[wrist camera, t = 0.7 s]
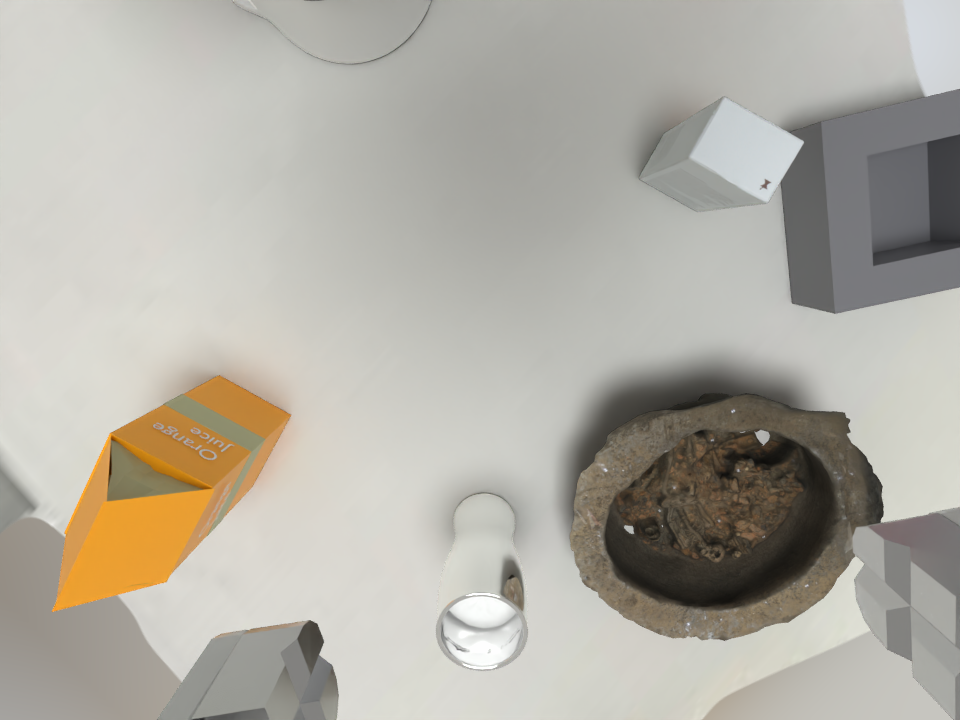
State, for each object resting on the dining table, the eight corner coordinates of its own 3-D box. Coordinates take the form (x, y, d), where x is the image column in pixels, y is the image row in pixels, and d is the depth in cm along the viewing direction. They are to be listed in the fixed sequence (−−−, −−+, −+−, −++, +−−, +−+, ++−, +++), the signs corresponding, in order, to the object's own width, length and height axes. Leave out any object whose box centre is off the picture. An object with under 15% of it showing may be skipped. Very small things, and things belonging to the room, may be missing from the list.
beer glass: (494, 475, 51) (495, 573, 37) (533, 529, 52) (549, 645, 38) (434, 511, 52) (413, 620, 38) (474, 563, 53) (468, 689, 39)
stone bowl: (794, 324, 47) (870, 355, 38) (828, 550, 54) (898, 620, 45) (526, 407, 49) (538, 455, 40) (594, 615, 56) (617, 694, 47)
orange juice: (180, 449, 51) (-11, 583, 32) (218, 373, 49) (40, 466, 30) (253, 488, 52) (112, 642, 33) (293, 415, 50) (168, 532, 31)
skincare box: (725, 165, 44) (809, 142, 32) (697, 213, 45) (768, 206, 33) (662, 129, 44) (725, 92, 32) (635, 178, 44) (686, 159, 33)
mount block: (776, 136, 43) (821, 121, 38) (954, 94, 42) (1028, 72, 37) (792, 303, 47) (835, 313, 41) (958, 267, 46) (1026, 273, 40)
